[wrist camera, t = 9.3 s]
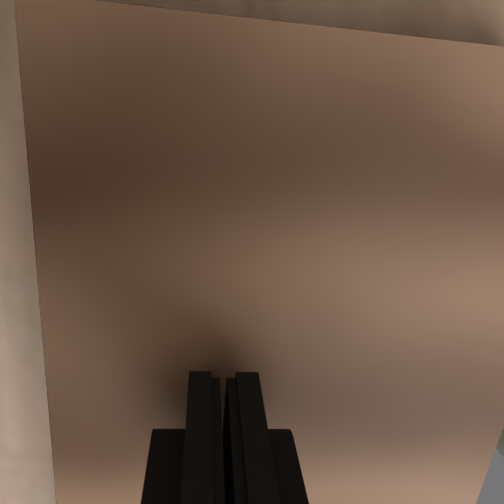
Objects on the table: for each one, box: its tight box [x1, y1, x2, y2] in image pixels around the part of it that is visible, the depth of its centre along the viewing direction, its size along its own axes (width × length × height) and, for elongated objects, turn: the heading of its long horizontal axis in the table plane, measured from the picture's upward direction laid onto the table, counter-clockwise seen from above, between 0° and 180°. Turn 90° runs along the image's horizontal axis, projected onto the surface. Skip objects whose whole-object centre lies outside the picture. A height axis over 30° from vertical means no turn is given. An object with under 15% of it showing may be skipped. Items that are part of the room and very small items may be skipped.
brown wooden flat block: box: [14, 0, 504, 504], centre depth 14 cm, size 18×12×4 cm, turn 175°
